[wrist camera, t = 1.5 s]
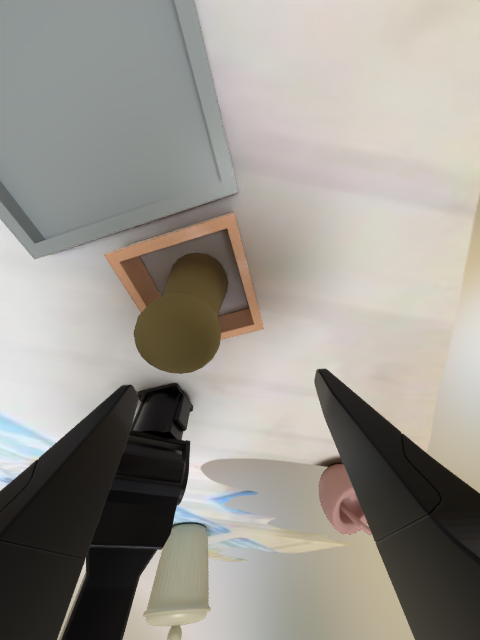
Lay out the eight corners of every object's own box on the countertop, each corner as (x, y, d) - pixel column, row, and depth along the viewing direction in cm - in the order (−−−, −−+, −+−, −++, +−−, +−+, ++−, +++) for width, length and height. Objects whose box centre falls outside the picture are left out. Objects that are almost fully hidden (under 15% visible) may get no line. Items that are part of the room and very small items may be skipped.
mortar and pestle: (371, 458, 45) (411, 530, 35) (337, 479, 50) (363, 545, 40) (332, 450, 41) (364, 526, 32) (300, 472, 47) (319, 543, 37)
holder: (174, 334, 23) (166, 353, 20) (124, 246, 18) (103, 254, 15) (259, 311, 22) (263, 328, 19) (233, 211, 17) (234, 213, 14)
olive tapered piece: (239, 288, 21) (247, 359, 11) (197, 317, 22) (174, 400, 13) (202, 239, 18) (172, 280, 8) (157, 276, 19) (90, 345, 10)
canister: (152, 523, 62) (121, 653, 44) (205, 516, 61) (195, 646, 43) (173, 536, 72) (155, 647, 54) (220, 530, 70) (217, 641, 52)
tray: (52, 253, 18) (34, 259, 16) (-143, 3, 11) (-214, -35, 9) (237, 193, 16) (238, 192, 14) (155, -158, 9) (137, -245, 7)
